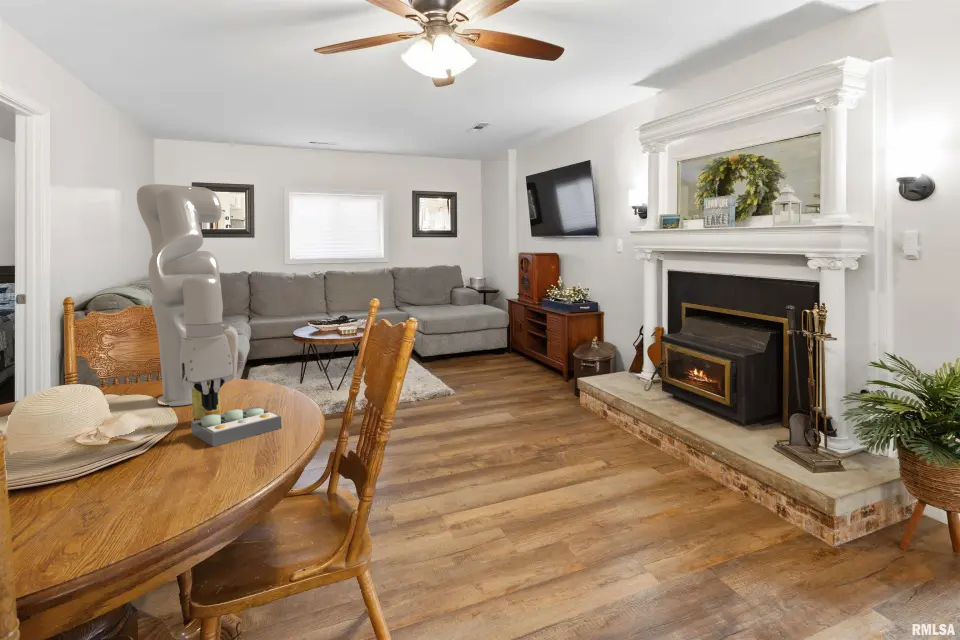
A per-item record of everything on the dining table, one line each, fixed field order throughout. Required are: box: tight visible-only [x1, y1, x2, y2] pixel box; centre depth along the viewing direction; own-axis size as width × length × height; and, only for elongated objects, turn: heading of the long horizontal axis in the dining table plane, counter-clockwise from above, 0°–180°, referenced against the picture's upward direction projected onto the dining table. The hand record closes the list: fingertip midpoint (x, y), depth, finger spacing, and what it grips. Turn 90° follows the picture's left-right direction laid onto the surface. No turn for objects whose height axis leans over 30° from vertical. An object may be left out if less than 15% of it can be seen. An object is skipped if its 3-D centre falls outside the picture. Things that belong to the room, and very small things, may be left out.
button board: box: [190, 405, 282, 447], centre depth 125 cm, size 12×16×3 cm
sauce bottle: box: [191, 381, 222, 421], centre depth 131 cm, size 7×6×20 cm
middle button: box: [223, 408, 243, 422], centre depth 126 cm, size 4×4×3 cm
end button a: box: [201, 414, 221, 428], centre depth 122 cm, size 4×4×3 cm
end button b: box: [246, 407, 265, 417], centre depth 130 cm, size 4×4×3 cm
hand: (210, 409), depth 122 cm, fingers closed
